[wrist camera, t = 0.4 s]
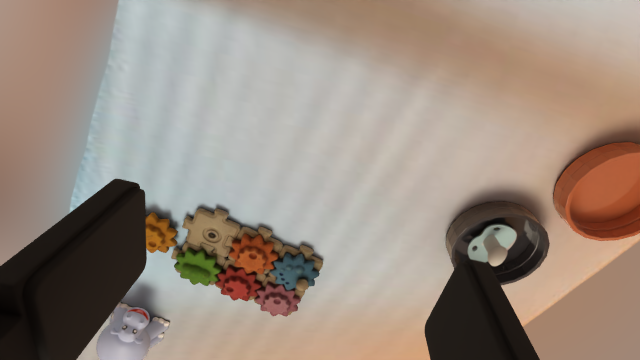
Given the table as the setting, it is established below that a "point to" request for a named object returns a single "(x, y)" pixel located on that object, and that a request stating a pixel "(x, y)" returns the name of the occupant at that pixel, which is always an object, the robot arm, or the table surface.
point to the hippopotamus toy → (130, 334)
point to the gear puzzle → (237, 260)
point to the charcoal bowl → (472, 223)
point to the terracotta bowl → (602, 192)
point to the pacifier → (492, 244)
